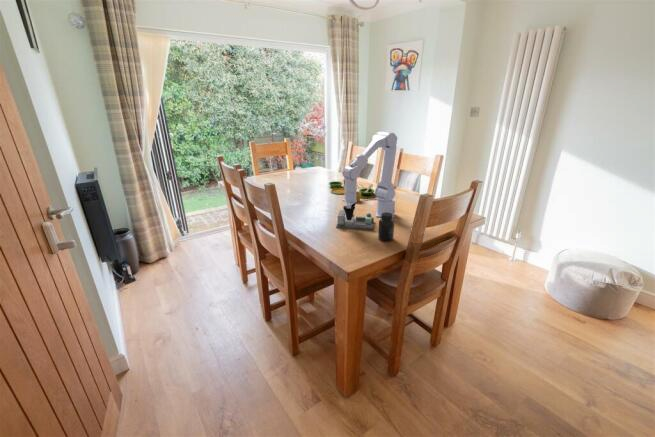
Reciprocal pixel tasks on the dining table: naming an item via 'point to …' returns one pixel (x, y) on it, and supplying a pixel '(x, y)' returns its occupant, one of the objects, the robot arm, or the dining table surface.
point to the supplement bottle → (386, 227)
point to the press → (358, 222)
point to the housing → (350, 222)
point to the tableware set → (359, 194)
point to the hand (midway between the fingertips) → (349, 217)
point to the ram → (368, 218)
